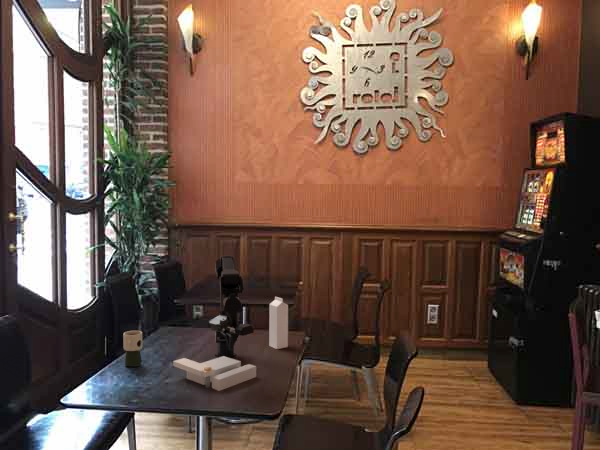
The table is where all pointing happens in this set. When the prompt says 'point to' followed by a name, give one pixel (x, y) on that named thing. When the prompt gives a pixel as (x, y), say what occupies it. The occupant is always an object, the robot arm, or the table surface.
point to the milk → (278, 324)
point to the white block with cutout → (221, 378)
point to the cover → (194, 367)
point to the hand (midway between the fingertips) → (230, 349)
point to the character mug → (132, 347)
